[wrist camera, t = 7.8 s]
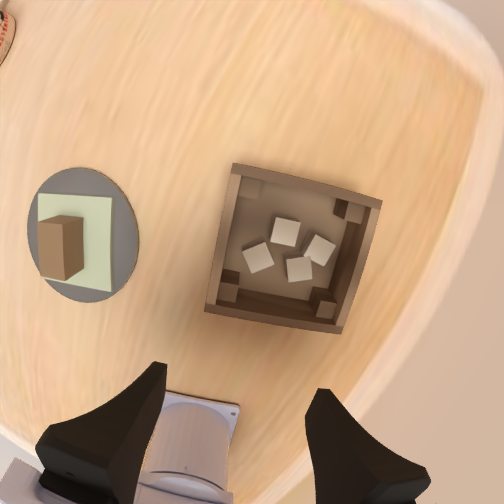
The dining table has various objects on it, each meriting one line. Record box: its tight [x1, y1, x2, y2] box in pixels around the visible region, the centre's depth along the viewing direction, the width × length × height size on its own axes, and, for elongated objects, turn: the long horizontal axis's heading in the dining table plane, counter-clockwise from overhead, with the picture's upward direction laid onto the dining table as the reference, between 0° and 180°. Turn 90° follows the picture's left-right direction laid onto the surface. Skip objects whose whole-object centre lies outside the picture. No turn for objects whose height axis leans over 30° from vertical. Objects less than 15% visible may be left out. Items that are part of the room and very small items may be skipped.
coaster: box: [27, 168, 139, 303], centre depth 21 cm, size 11×11×1 cm
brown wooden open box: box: [204, 163, 383, 334], centre depth 20 cm, size 9×9×4 cm
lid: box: [37, 193, 115, 292], centre depth 19 cm, size 7×7×4 cm
